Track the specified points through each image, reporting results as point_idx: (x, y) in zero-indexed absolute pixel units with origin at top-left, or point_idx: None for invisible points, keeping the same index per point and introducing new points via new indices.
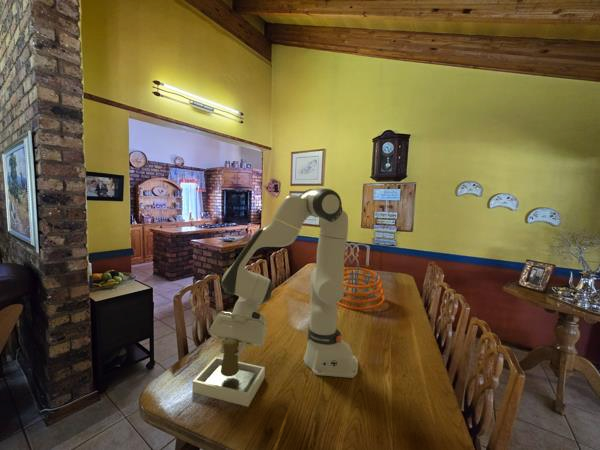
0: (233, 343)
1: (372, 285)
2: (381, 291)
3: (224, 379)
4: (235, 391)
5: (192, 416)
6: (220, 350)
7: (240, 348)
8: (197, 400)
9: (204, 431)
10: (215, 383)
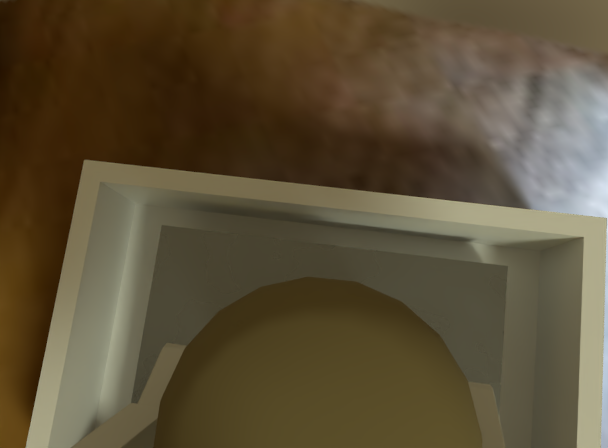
0: (222, 366)
1: None
2: None
3: None
4: (197, 173)
5: (447, 83)
6: (491, 390)
7: (128, 424)
8: (488, 202)
9: (328, 9)
10: (413, 279)
